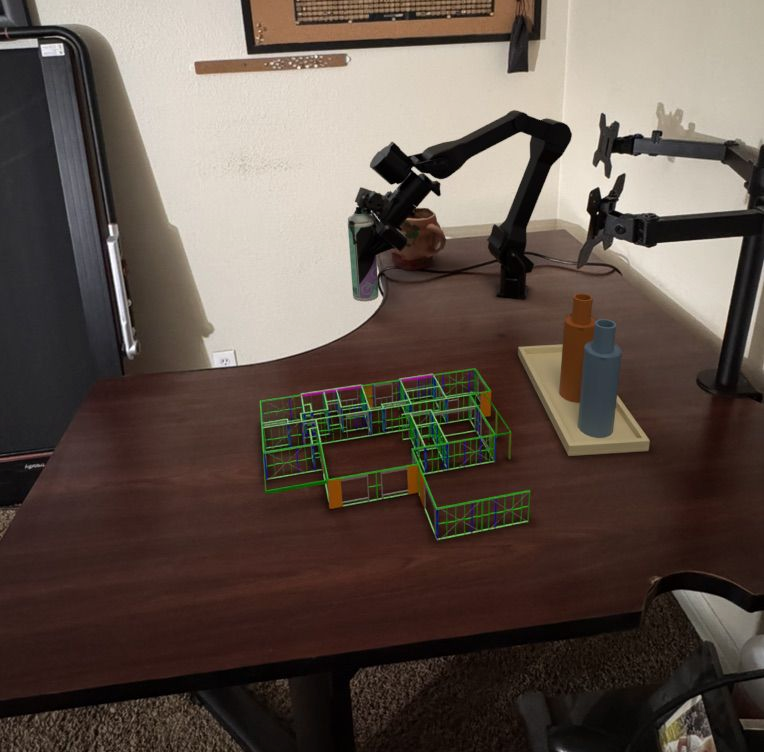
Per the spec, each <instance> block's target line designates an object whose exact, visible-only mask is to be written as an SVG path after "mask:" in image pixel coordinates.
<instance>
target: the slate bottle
mask: <svg viewBox="0 0 764 752" xmlns="http://www.w3.org/2000/svg"><path fill="white" fill-rule="evenodd" d="M616 332H617V323H616V322H615V321H613V320H611V319H606V318H599V319H597V321H595V327H594V338H593V341H590V342H588V343H587V344H586V345H585V348H584V359H583V371H582V382H581V394H580V405H579V417H578V428H579V430H580V431H581V432H582V433H584V434H585V435H588V436H590V437H595V438H605V437H608V436H610V435H611V434H612V433H613V428H614V419H615V410H616V401H617V395H618V391H619V381H620V373H621V364H622V355H623V349H622V348H621V347H620V346H619V345H618V344H617V343H615V341H616Z"/></svg>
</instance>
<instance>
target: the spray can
mask: <svg viewBox="0 0 764 752" xmlns="http://www.w3.org/2000/svg"><path fill="white" fill-rule="evenodd" d="M371 227H373V228H374V229H375V222H374V217H373V216H372V215H370V214H368V213H367V211H366V210H364V208H361V207H359V206H355V210H354V212H353V214H352V215H350V216H348V218H347V232H348V246H349V247H348V248H349V259H350V261H349V262H350V275H351V276H350V277H351V287H352V298H353V299H354V300H355V301H358V302H371V301H375V300H377V299H378V297H379V278H378V276H379V275H378V261H377V255H375V256H373V257H371V258H368V259H366V260H364V261H360V260H358V256H359V255H360V253H361V251H362V250H363V248H364V247H365V245H366V244H367V242H368V241H369V239H370V238H371Z"/></svg>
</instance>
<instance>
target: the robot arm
mask: <svg viewBox="0 0 764 752" xmlns="http://www.w3.org/2000/svg"><path fill="white" fill-rule="evenodd" d="M519 133H522V134H525V135H527V136H530V140H529V160H528V162H527V164H526V167H525V169H524V172H523V175H522V177H521V180H520V182H519V184H518V188H517V190H516V193H515V195H514V198H513V200H512V203H511V206H510V208H509V210H508V213H507V216H506V218H505V220H504V221H503V222H501V224H500V225H497V224H493V225H492V227H491V231H490V235H489V236H488V238H486V241H487V242H488V244H487V249H488V251H489V253H490V254H491V256H493V258H495V260H496V262H497V263H499V265H500V268H499V269H500V270H499V272H500V273H499V285H498V288H497V291H496V297H500V298H509V299H510V298H512V299H521V300H525V299H527V296H528V291H529V285H527V274H530V273H532V271H533V269H534V266H535V263H534V262H533V261H532V260H531V259H529V258H528V256H527V255H525V252H526V248H527V243H528V242H527V241H528V240H527V228H528V225H529V222H530V220H531V218H532V215H533V213H534V210H535V208H536V205H537V203H538V201H539V197H540V195H541V192H542V190H543V188H544V185H545V183H546V180H547V178H548V175H549V173H550V171H551V168H552V167H553V165H554V164H555V163H556V162H557V161H558V160H559V159H561V157H562V156H563V155H564V153H565V152H566V150H567V148H568V146H569V145H570V143H571V142H572V137H573V133H572V131H571V127H570V126H569V125H568V124H566V123H565V122H562V121H559V120H556V119H552V118H547V117H546V118H542V119H538V118H536V117H533V116H531V115H529V114H527V113H526V112H523V111H520V110H516V109H513V110H510V111H508V112H507V113H506V114H505V115H503V116H500V117H499V118H497V119H495V120H493V121H491V122H489V123H487V124H486V125H485V124H484V125H483V126H482V127H479V128H478V129H476V130H474V131H472V132H470V133H468V134H466V135H464V136H463V137H460V138H458V139H455V140H450V141H443V142H440V143H437V144H433V145H431V146H428V147H427V148H425V149H424V150H423V151H422V152H419V153H415V154H411V155H407V154H406V153H405V152H404V151H403V150H402V149H401V148H400V146H398V144H396V143H395V142H394V141H390V142H389V144H388V145H386V146H384V147H383V148H381V150H378V151H377V152H376V154H375V155H374V156H373V158H372V159H371V161H370V164H369V168H370V169H372V170H373V171H374V172H375V173H376V174H377V175H378V176H380V177H381V178H382V179H383V180H384V181H385V182H387V183H388V184H389V185H391V186H393V185H395V184H396V185H398V186H397V187H395V189H394V190H393V192H392V191H391V190H389V191H386V193H384V194H382V193H381V192H376V191H375V190H372V189H368V188H365V187H361V186H359V189H358V192H357V195H356V197H355V200H354V202H355V203H356V205H357V207H361V208H364V210H366V211H367V213H368V214H370V215H372V216H373V217H374V222H375V229H374V228H373V227H371V238H370V239H369V241H368V242H367V244H366V245H365V247H364V248H363V250H362V251H361V253H360V255H359V256H358V260H360V261H364V260H366V259H368V258H371V257H373V256H375V255H376V256H377V255H379V254H382V253H384V252H387V251H390V250H392V249H395V248H397V249H398V250H399V251H402V250H403V248H404V247H405V246H406V245H407V238H406V237H405V235H404V234H403V233H402V232H401V230H402V228H401V225H402V224H403V223H404V221H405V220H406V219H407V218H408V217H409V216H412V217H413V216H414V215H415V214H416V213H415V212H414V210H415V209H416V208H419V207H418V206H420V204H421V203H422V202H423V201H424V200H425V199H426V198H427V197H428V195H429V194H430V193H431V192H432V193H433V194H435V195H436V196H437V197H441V196H442V192H441V182H439V181H438V180H445V179H448V178H450V177H451V176H452V175H453V174H454V173H457V171H459V170H461V168H462V167H463V166H464V165H465V164H466V163H467V161H469V160H470V159H472V157H475V156H477V155H479V154H480V153H483V152H484V151H487V150H488V149H491V148H492V147H494V146H496V145H498V144H500V143H502V142H504V141H505V140H508V139H510V138H511V137H513V136H516V135H517V134H519ZM413 168H415V169H416V170H417V171H418V172H420V173H419V174H418V173H416V172H415V171H414V170H413ZM426 174H429V175H430V176H431V177H433V178H435V179H437V180H432V179H431V178H430V177H429V176H428V175H426Z"/></svg>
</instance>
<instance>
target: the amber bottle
mask: <svg viewBox="0 0 764 752" xmlns="http://www.w3.org/2000/svg"><path fill="white" fill-rule="evenodd" d="M593 300H594V297H593V295H591V294H589V293H581V292H580V293H579V292H578V293H575V294H574V295H573V300H572V312H571V313H570V314H567V315H566V316H564V321H563V335H562V344H563V347H562V361H561V375H560V389H559V394H560V396H561V397H562V398H563V399H565V400H567V401H570V402H575V403H580V394H581V382H582V371H583V359H584V348H585V345H586V344H587V343H588V342H590V341H593V338H594V327H595V321H597V320H598V319H597V318H596V317H595V316H594V315H593V316H592V311H593Z"/></svg>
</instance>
